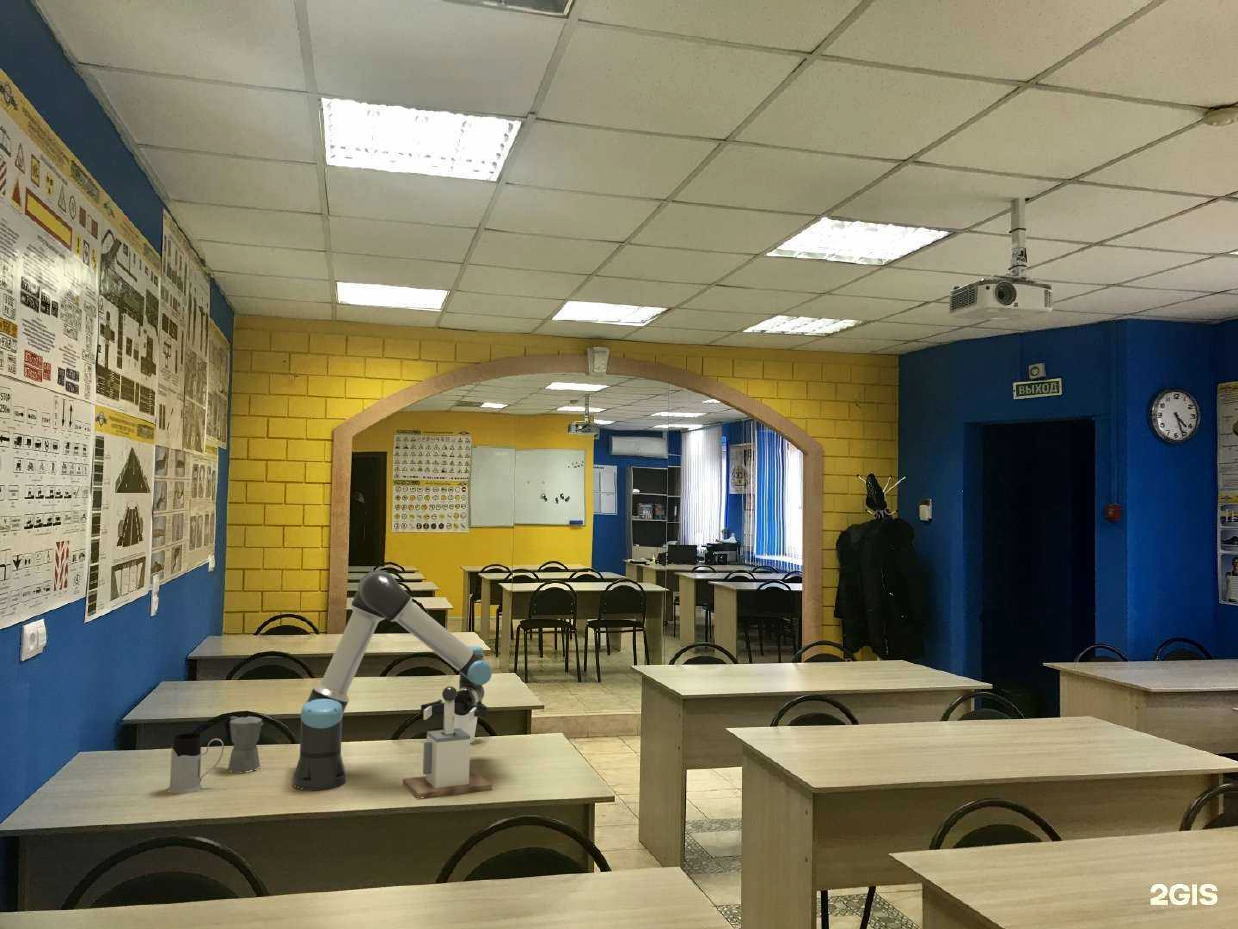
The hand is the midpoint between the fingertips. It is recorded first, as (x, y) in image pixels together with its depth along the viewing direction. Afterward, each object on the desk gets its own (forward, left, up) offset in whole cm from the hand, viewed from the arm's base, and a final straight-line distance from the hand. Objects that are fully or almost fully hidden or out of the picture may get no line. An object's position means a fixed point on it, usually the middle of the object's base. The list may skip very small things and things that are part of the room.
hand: (447, 716), depth 270 cm
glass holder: (-65, +30, -21) cm, 75 cm away
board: (+1, +2, -21) cm, 21 cm away
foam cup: (+23, +51, -21) cm, 60 cm away
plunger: (+1, +2, -18) cm, 18 cm away
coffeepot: (-51, +46, -21) cm, 72 cm away
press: (0, +2, -20) cm, 20 cm away
